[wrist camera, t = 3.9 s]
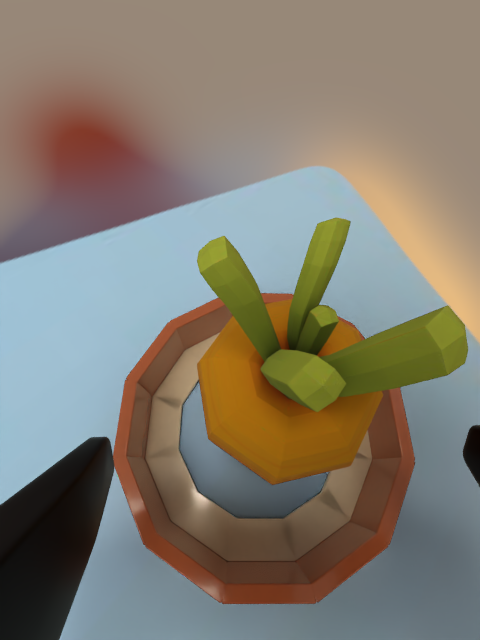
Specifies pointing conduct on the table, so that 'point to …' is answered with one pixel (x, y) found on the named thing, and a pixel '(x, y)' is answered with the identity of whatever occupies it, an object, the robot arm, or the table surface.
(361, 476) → the brown round ring
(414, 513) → the table surface
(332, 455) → the carrot
